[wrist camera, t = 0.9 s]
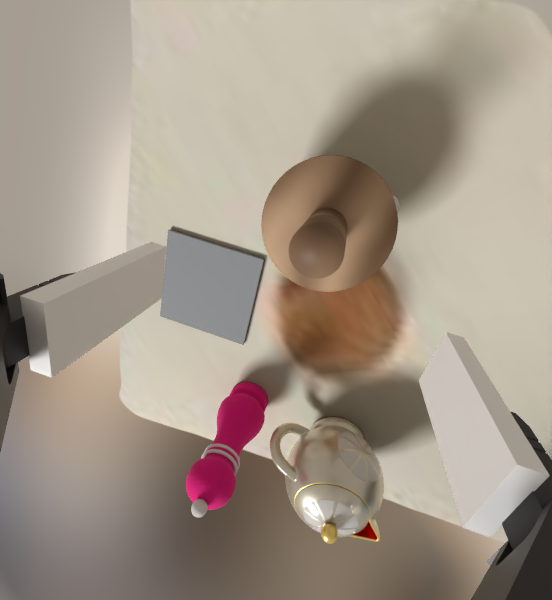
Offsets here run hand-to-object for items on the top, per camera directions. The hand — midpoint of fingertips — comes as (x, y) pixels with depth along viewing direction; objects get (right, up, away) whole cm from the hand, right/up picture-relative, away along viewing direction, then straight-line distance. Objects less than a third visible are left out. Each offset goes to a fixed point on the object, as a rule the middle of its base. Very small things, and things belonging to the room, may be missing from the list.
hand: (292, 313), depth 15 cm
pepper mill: (-5, -16, +39) cm, 42 cm away
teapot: (+8, -21, +38) cm, 44 cm away
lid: (+4, +8, +17) cm, 19 cm away
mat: (-11, +2, +32) cm, 34 cm away
